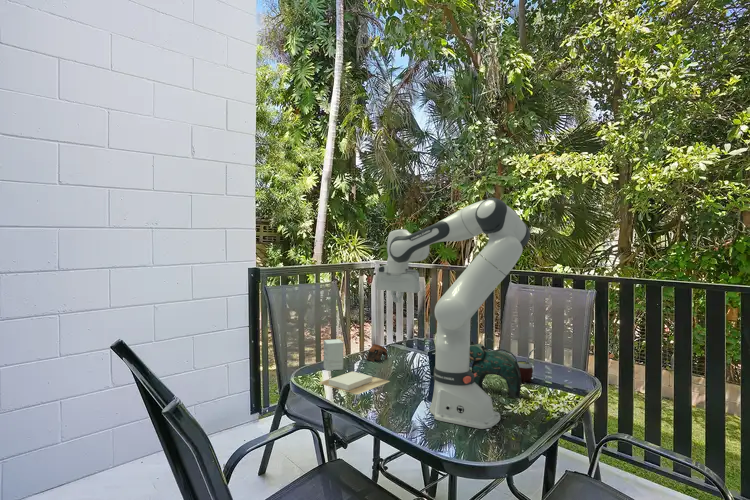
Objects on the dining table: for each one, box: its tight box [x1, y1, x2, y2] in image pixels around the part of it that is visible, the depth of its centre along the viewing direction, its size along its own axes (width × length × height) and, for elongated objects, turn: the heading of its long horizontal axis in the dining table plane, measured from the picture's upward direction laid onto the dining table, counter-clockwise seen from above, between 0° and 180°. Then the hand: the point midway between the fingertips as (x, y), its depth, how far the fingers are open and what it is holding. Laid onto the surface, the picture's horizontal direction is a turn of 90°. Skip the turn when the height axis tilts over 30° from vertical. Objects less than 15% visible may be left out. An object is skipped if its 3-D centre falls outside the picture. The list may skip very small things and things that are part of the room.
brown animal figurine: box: [366, 343, 388, 363], centre depth 202 cm, size 12×9×8 cm
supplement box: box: [323, 338, 344, 372], centre depth 185 cm, size 7×7×13 cm
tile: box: [329, 371, 373, 391], centre depth 163 cm, size 10×2×14 cm
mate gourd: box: [517, 347, 537, 385], centre depth 171 cm, size 8×8×15 cm
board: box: [318, 371, 391, 395], centre depth 165 cm, size 20×20×1 cm
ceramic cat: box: [470, 337, 522, 399], centre depth 160 cm, size 20×6×20 cm, turn 53°
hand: (397, 302), depth 175 cm, fingers closed
